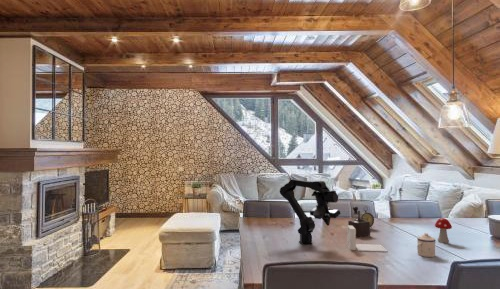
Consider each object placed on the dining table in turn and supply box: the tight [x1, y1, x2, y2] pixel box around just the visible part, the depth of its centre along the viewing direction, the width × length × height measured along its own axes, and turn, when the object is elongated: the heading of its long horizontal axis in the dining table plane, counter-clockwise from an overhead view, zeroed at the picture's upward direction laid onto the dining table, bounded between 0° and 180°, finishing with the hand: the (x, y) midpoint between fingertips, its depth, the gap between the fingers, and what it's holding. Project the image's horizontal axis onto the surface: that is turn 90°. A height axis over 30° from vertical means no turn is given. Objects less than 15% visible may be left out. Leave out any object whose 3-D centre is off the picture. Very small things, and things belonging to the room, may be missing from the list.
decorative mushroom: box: [434, 217, 453, 245], centre depth 227 cm, size 10×9×15 cm
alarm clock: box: [360, 206, 375, 229], centre depth 266 cm, size 11×5×16 cm, turn 105°
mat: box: [356, 243, 388, 253], centre depth 211 cm, size 16×14×1 cm
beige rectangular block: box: [346, 225, 357, 251], centre depth 212 cm, size 3×10×12 cm, turn 174°
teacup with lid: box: [416, 233, 436, 258], centre depth 197 cm, size 12×9×12 cm
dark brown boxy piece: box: [347, 206, 371, 238], centre depth 248 cm, size 16×11×18 cm
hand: (328, 225), depth 219 cm, fingers closed
